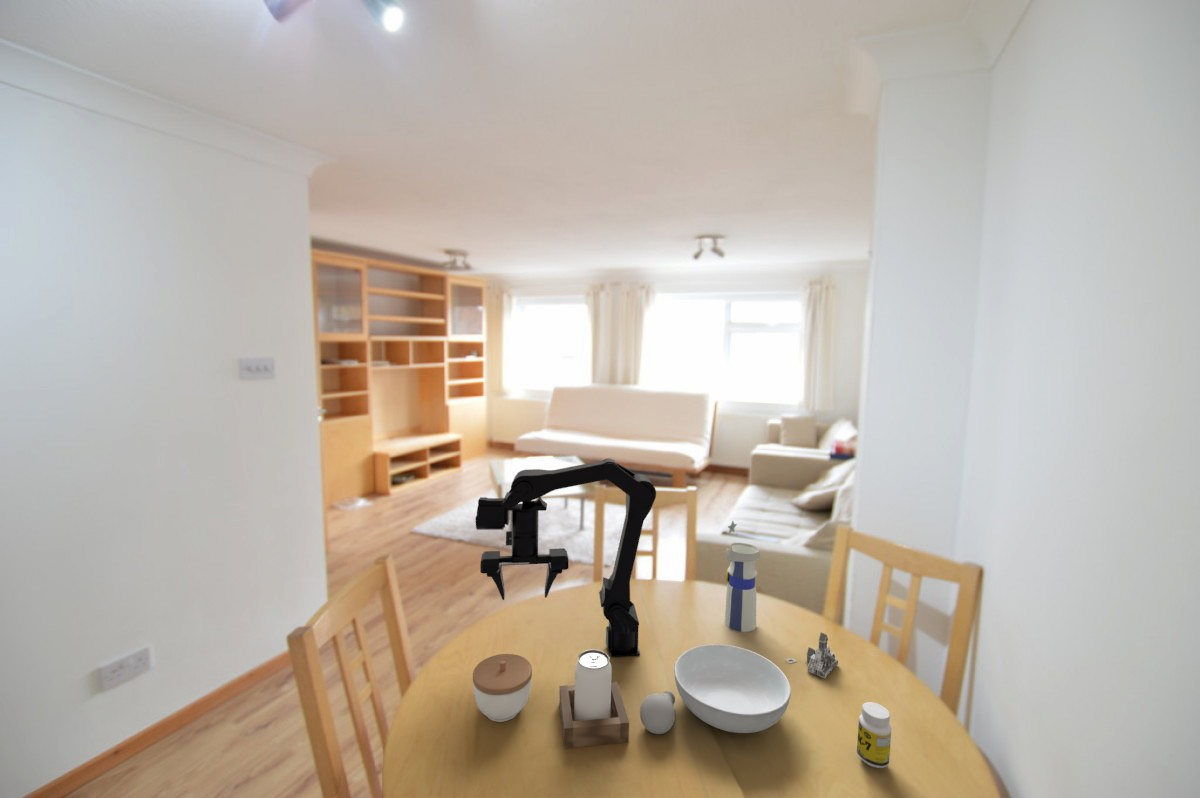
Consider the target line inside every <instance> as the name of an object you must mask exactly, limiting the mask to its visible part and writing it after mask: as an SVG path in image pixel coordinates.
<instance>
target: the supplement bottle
mask: <svg viewBox="0 0 1200 798" xmlns="http://www.w3.org/2000/svg"><path fill="white" fill-rule="evenodd" d="M890 718H891V713H890V711H889V710H888V709H887V708H886V707H885V706H883V705H881V704H879V703H877V702H871V701H867V702H864V703H862V707H861V714H860V715H859V717H858V727H857V742H856V753H857V755H858V757H859V759H860V760H861V761H863V763H865V764H867V765H868V766H870V767H872V768H877V769H884V768H886V767H888V766H889V764H890V756H891V743H892V742H891V741H892V740H891V739H892V726H891V724H890Z"/></svg>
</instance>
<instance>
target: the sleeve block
mask: <svg viewBox="0 0 1200 798" xmlns="http://www.w3.org/2000/svg"><path fill="white" fill-rule="evenodd" d="M574 698H575V684H568V685H559V700H558V701H559V703H558V704H559V712H560V713H559V714H560V721H561V722H560V723H561V732H562V740H563V741H562V742H563V749H574V748H582V747H591V746H592V747H593V746H603V745H611V744H612V745H613V744H620V743H621V744H623V743H624V744H625V743H629V736H630V735H629V734H630V722H629V718H628V714H627V710H626V708H625V704H624V701H623V698H622V693H621V690H620V687H619V683H618V681H611V707H610V710H611V712H612V716H613V717H610V718H605V719H594V720H583V721H574V720H573V716H572V709H574Z"/></svg>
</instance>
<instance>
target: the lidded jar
mask: <svg viewBox="0 0 1200 798" xmlns="http://www.w3.org/2000/svg"><path fill="white" fill-rule="evenodd" d="M532 676H533V668H532V664H531V662H530V661H529V660H528V659H527V658H526V657H524V656H521V655H518V654H513V653H500V654H496V655H492V656H489V657H487V658H485V659H483V660H481V661H480V662H479V663H478V664H477V665H476V666H475V668H474V669H473V671H472V684H473V685H472V686H473V688H472V689H473V695H474V696H473V697H474V699H475V704H476V705H477V708H478V710H479V711H480V712H481V713H482V714H483V715H484V716H486V717H487V719H489V720H490V721H491V722H495V723H504V722H507V721H508V722H509V721H511V720H512V719H514V718H515V717H516V716H518V714H519V713H520V711H522V710H523V708H524V707H525V706H526V704H527V702H528V700H529V698H530V694H531V687H532Z"/></svg>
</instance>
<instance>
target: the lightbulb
mask: <svg viewBox="0 0 1200 798" xmlns="http://www.w3.org/2000/svg"><path fill="white" fill-rule="evenodd" d="M675 702H676V698H675V695H674V693H672V692H671V691H669V690H666V691H664V692H663V693H656V692H655V693H652V694H649V695H648V696H646V697H645V698H644V699H643V701H642V703H641V705H640V708H639V717H640V720H641V723H642V725H643V726H644V728H645V729H646V730H647V731H648V732H650V733H651V734H655V735H662V734H665V733H667V732H669V731H670V730H671V728H672V726H673V725H674V723H675V718H676V717H675V716H676V711H675V707H674V706H675Z"/></svg>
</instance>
